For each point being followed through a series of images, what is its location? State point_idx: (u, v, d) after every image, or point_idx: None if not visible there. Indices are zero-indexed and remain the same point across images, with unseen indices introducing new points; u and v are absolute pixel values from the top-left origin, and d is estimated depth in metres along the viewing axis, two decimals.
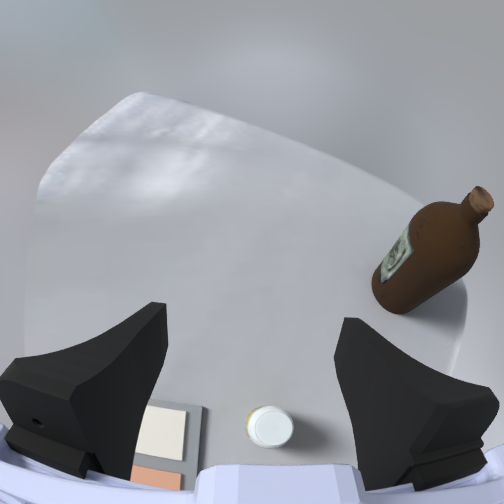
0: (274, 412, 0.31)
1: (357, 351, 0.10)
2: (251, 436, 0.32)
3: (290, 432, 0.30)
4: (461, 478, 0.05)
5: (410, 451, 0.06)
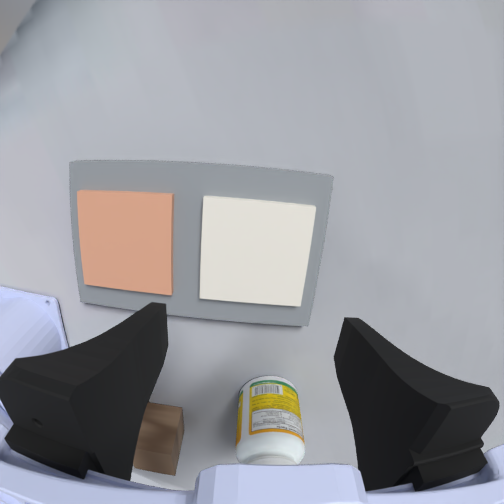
0: None
1: (356, 351, 0.10)
2: (257, 441, 0.20)
3: None
4: (461, 478, 0.05)
5: (410, 451, 0.06)
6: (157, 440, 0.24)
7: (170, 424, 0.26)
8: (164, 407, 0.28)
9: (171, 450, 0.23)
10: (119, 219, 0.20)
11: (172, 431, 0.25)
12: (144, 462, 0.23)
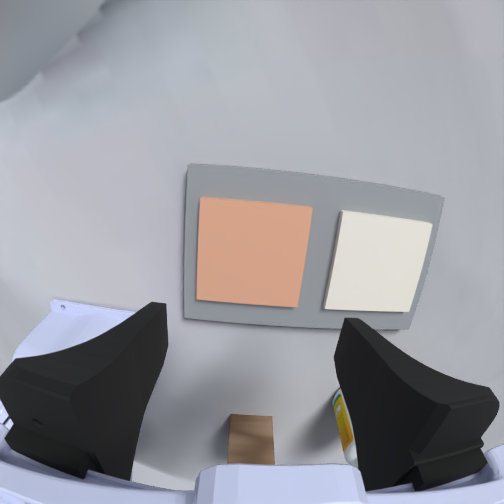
0: None
1: (357, 351, 0.10)
2: None
3: None
4: (461, 478, 0.05)
5: (410, 451, 0.06)
6: (256, 452, 0.24)
7: (265, 434, 0.26)
8: (254, 418, 0.28)
9: (273, 460, 0.23)
10: (252, 231, 0.20)
11: (269, 441, 0.25)
12: None
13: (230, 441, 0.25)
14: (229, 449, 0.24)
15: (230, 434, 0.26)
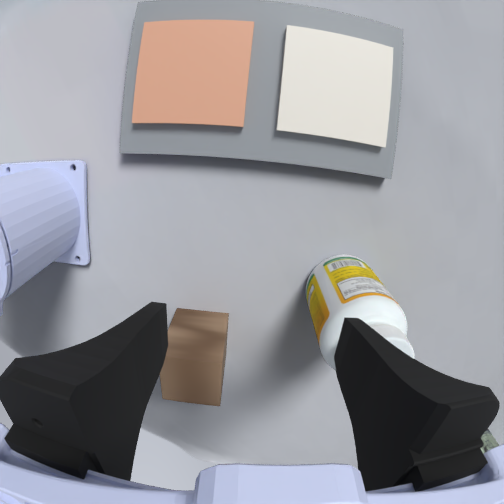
0: None
1: (357, 351, 0.10)
2: (357, 308, 0.16)
3: None
4: (461, 478, 0.05)
5: (410, 451, 0.06)
6: (200, 347, 0.20)
7: (216, 330, 0.22)
8: (206, 313, 0.24)
9: (221, 358, 0.19)
10: (192, 44, 0.16)
11: (220, 337, 0.21)
12: (179, 385, 0.19)
13: (168, 333, 0.21)
14: None
15: (170, 326, 0.21)
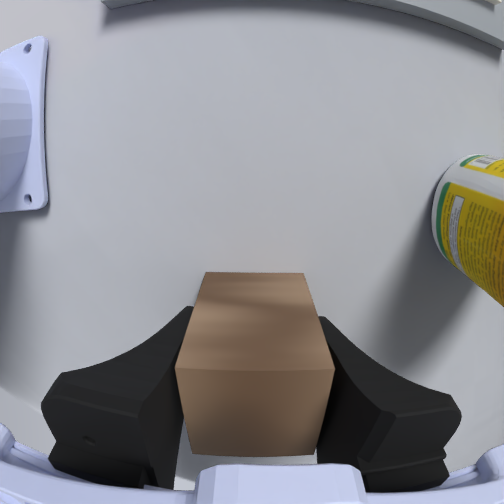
0: None
1: None
2: None
3: None
4: (420, 490, 0.05)
5: (358, 459, 0.06)
6: (272, 339, 0.09)
7: (293, 301, 0.11)
8: (262, 276, 0.13)
9: (327, 357, 0.08)
10: None
11: (306, 314, 0.10)
12: (229, 427, 0.08)
13: (195, 316, 0.10)
14: (188, 333, 0.09)
15: (198, 303, 0.11)
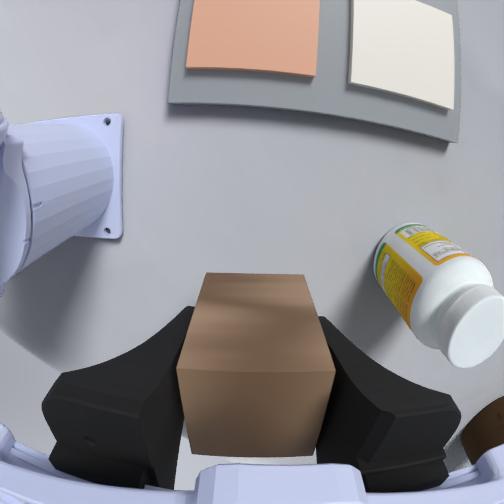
0: None
1: None
2: (454, 269, 0.13)
3: (462, 365, 0.12)
4: (419, 491, 0.05)
5: (358, 459, 0.06)
6: (273, 340, 0.09)
7: (293, 303, 0.11)
8: (262, 277, 0.13)
9: (328, 359, 0.08)
10: None
11: (306, 316, 0.10)
12: (229, 428, 0.08)
13: (196, 317, 0.10)
14: (189, 334, 0.09)
15: (198, 304, 0.11)
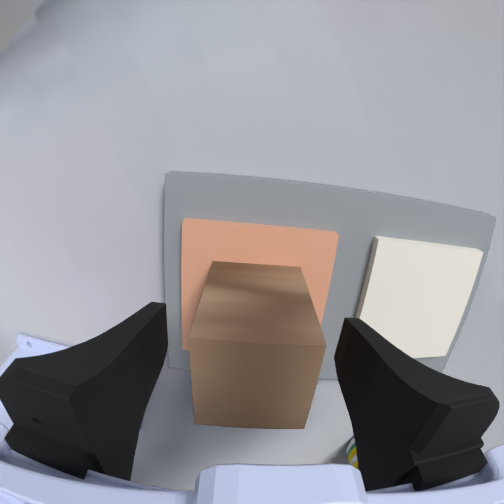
0: None
1: (357, 351, 0.10)
2: None
3: None
4: (461, 478, 0.05)
5: (410, 451, 0.06)
6: (272, 319, 0.10)
7: (291, 289, 0.12)
8: (263, 267, 0.14)
9: (320, 336, 0.09)
10: None
11: (302, 300, 0.12)
12: (231, 397, 0.10)
13: (204, 297, 0.11)
14: (199, 310, 0.10)
15: (207, 286, 0.12)
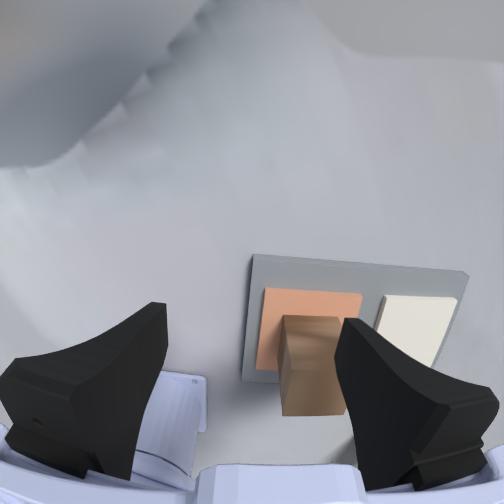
0: None
1: (357, 351, 0.10)
2: None
3: None
4: (461, 478, 0.05)
5: (410, 451, 0.06)
6: (330, 355, 0.18)
7: (336, 335, 0.20)
8: (316, 318, 0.22)
9: None
10: None
11: None
12: (307, 398, 0.17)
13: (289, 343, 0.19)
14: (291, 353, 0.18)
15: (288, 336, 0.20)
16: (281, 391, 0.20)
